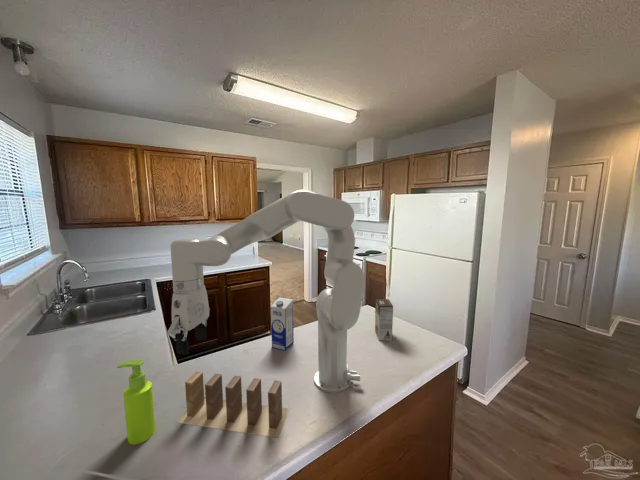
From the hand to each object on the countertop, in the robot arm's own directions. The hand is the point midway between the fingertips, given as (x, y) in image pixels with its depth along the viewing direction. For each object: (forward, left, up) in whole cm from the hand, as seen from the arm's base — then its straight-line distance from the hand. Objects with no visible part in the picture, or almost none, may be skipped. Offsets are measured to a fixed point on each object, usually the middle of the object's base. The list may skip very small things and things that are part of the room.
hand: (192, 345), depth 73 cm
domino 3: (-12, 0, -19) cm, 23 cm away
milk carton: (-13, -40, -20) cm, 47 cm away
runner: (-12, 0, -20) cm, 23 cm away
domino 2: (-6, 0, -19) cm, 20 cm away
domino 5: (-24, 0, -19) cm, 31 cm away
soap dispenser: (+9, +10, -20) cm, 24 cm away
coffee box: (-56, -56, -20) cm, 82 cm away
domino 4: (-18, 0, -19) cm, 26 cm away
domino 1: (0, 0, -19) cm, 19 cm away
